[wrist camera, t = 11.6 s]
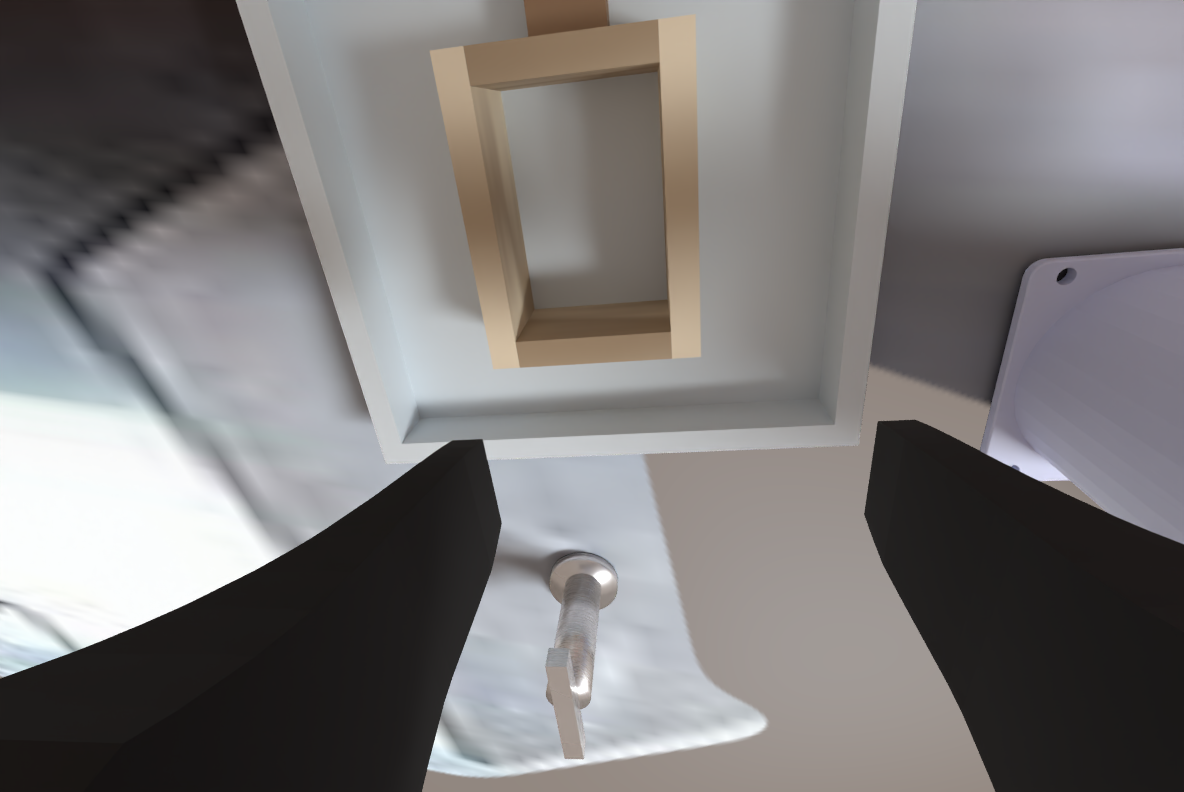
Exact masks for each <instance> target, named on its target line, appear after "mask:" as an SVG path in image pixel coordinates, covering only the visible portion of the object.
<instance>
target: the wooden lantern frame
mask: <svg viewBox="0 0 1184 792" xmlns="http://www.w3.org/2000/svg"><path fill="white" fill-rule="evenodd" d="M524 7H525V15H526V22H527V30H528V37H524V38H517V39H510V40H503V41H495V42H488V43H481V44H473V45H466V46H459V47H452V48H444V49H437V50H430V56H431V61H432V66H433V71H434V76H435V81H436V86H437V91H438V96H439V101H440V106H441V111H442V116H443V121H444V125H445V130H446V135H447V140H448V145H449V150H450V155H451V160H452V165H453V170H454V175H455V180H456V185H457V190H458V195H459V200H460V205H461V210H462V215H463V220H464V225H465V230H466V235H467V240H468V245H469V250H470V255H471V260H472V265H473V270H474V275H475V280H476V285H477V290H478V295H479V300H480V305H481V310H482V315H483V320H484V325H485V330H486V335H487V340H488V345H489V350H490V355H491V360H492V365H493V369H507V368H524V367H541V366H558V365H575V364H592V363H608V362H625V361H642V360H659V359H676V358H692V357H701V328H700V265H699V201H698V137H697V74H696V14H692V15H685V16H678V17H670V18H663V19H656V20H648V21H641V22H634V23H627V24H619V25H612V26H610V21H609V7H608V0H524ZM651 72H658V92H659V115H660V138H661V161H662V185H663V208H664V231H665V255H666V278H667V300H655V301H641V302H627V303H614V304H600V305H586V306H572V307H559V308H545V309H534V303H533V296H532V290H531V283H530V277H529V270H528V264H527V258H526V251H525V245H524V238H523V232H522V225H521V219H520V213H519V206H518V200H517V193H516V187H515V180H514V174H513V167H512V161H511V155H510V148H509V142H508V135H507V129H506V122H505V116H504V110H503V103H502V97H501V91H507V90H515V89H523V88H531V87H539V86H547V85H555V84H563V83H571V82H579V81H587V80H595V79H603V78H611V77H619V76H627V75H635V74H643V73H651Z"/></svg>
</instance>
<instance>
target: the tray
mask: <svg viewBox="0 0 1184 792" xmlns="http://www.w3.org/2000/svg"><path fill="white" fill-rule="evenodd" d="M236 3H237V6H238V9H239V12H240V15H241V18H242V22H243V25H244V28H245V31H246V34H247V37H248V40H249V43H250V46H251V49H252V52H253V55H254V59H255V62H256V65H257V68H258V71H259V74H260V77H261V80H262V83H263V86H264V89H265V92H266V96H267V99H268V102H269V105H270V108H271V111H272V114H273V117H274V120H275V123H276V126H277V129H278V133H279V136H280V139H281V142H282V145H283V148H284V151H285V154H286V157H287V160H288V163H289V166H290V169H291V173H292V176H293V179H294V182H295V185H296V188H297V191H298V194H299V197H300V200H301V203H302V206H303V210H304V213H305V216H306V219H307V222H308V225H309V228H310V231H311V234H312V237H313V240H314V243H315V247H316V250H317V253H318V256H319V259H320V262H321V265H322V268H323V271H324V274H325V277H326V280H327V284H328V287H329V290H330V293H331V296H332V299H333V302H334V305H335V308H336V311H337V314H338V317H339V321H340V324H341V327H342V330H343V333H344V336H345V339H346V342H347V345H348V348H349V351H350V354H351V358H352V361H353V364H354V367H355V370H356V373H357V376H358V379H359V382H360V385H361V388H362V391H363V395H364V398H365V401H366V404H367V407H368V410H369V413H370V416H371V419H372V422H373V425H374V428H375V431H376V435H377V438H378V441H379V444H380V447H381V450H382V453H383V456H384V459H385V462H386V464H399V463H420V462H421V461H423V460H424V459H425V458H427V457H428V456H429V455H431V454H432V453H434V452H435V451H437V450H438V449H439V448H441V447H442V446H444V445H446V444H447V443H449V442H451V441H452V440H471V439H483V443H484V447H485V452H486V456H487V460H501V459H526V458H552V457H577V456H603V455H628V454H652V453H676V452H677V453H679V452H703V451H730V450H752V449H753V450H755V449H781V448H805V447H831V446H854V445H855V446H857V445H859V439H860V432H861V424H862V416H863V409H864V401H865V394H866V386H867V378H868V371H869V363H870V355H871V348H872V340H873V333H874V325H875V317H876V310H877V302H878V295H879V287H880V279H881V272H882V264H883V256H884V249H885V241H886V234H887V226H888V218H889V211H890V203H891V196H892V188H893V180H894V173H895V165H896V157H897V150H898V142H899V135H900V127H901V119H902V112H903V104H904V97H905V89H906V81H907V74H908V66H909V58H910V51H911V43H912V36H913V28H914V20H915V13H916V5H917V0H608V7H609V21H610V26H612V25H619V24H627V23H634V22H641V21H648V20H656V19H663V18H670V17H678V16H685V15H692V14H696V74H697V137H698V201H699V265H700V328H701V357H692V358H676V359H659V360H642V361H625V362H608V363H592V364H575V365H558V366H541V367H524V368H507V369H493V365H492V360H491V355H490V350H489V345H488V340H487V335H486V330H485V325H484V320H483V315H482V310H481V305H480V300H479V295H478V290H477V285H476V280H475V275H474V270H473V265H472V260H471V255H470V250H469V245H468V240H467V235H466V230H465V225H464V220H463V215H462V210H461V205H460V200H459V195H458V190H457V185H456V180H455V175H454V170H453V165H452V160H451V155H450V150H449V145H448V140H447V135H446V130H445V125H444V121H443V116H442V111H441V106H440V101H439V96H438V91H437V86H436V81H435V76H434V71H433V66H432V61H431V56H430V50H437V49H444V48H452V47H459V46H466V45H473V44H481V43H488V42H495V41H503V40H510V39H517V38H524V37H528V30H527V22H526V15H525V7H524V0H236ZM501 97H502V103H503V110H504V116H505V122H506V129H507V135H508V142H509V148H510V155H511V161H512V167H513V174H514V180H515V187H516V193H517V200H518V206H519V213H520V219H521V225H522V232H523V238H524V245H525V251H526V258H527V264H528V270H529V277H530V283H531V290H532V296H533V303H534V309H545V308H559V307H572V306H586V305H600V304H614V303H627V302H641V301H655V300H667V278H666V255H665V231H664V208H663V185H662V161H661V138H660V115H659V92H658V72H651V73H643V74H635V75H627V76H619V77H611V78H603V79H595V80H587V81H579V82H571V83H563V84H555V85H547V86H539V87H531V88H523V89H515V90H507V91H501Z"/></svg>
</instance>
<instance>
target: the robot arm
mask: <svg viewBox="0 0 1184 792" xmlns="http://www.w3.org/2000/svg"><path fill="white" fill-rule="evenodd" d="M1066 268H1067V269H1068V273H1067V274H1066V276H1065V277H1064V278H1063V279H1062V280H1060V281H1057V276H1058V274H1059V273H1060V272H1061V271H1062V270H1063V269H1066ZM1011 465H1013V466H1012V467H1010V466H1011ZM1057 480H1070V481H1071V482H1072V483H1074V484H1075V485H1076V486H1077V487H1078V488H1079V489H1081V490H1082V491H1083V492H1084V493H1085V494H1086V495H1088V496H1089V497H1090V498H1091V499H1092V500H1093V501H1094V502H1096V503H1097V504H1098V505H1099V506H1100V507H1101V508H1103V509H1104V510H1105V511H1106V512H1105V511H1102V510H1100V509H1098V508H1096V507H1093V506H1091V505H1089V504H1087V503H1085V502H1082V501H1080V500H1078V499H1076V498H1074V497H1071V496H1069V495H1067V494H1065V493H1063V492H1061V491H1059V490H1057V489H1055V488H1053V487H1051V486H1048V485H1046V484H1044V483H1042V482H1040V481H1057ZM864 515H865V518H866V520H867V523H868V526H869V529H870V532H871V535H872V537H873V540H874V543H875V545H876V548H877V550H878V553H879V555H880V558H881V561H882V563H883V565H884V567H885V569H886V571H887V573H888V575H889V577H890V579H891V581H892V583H893V584H894V586H895V588H896V590H897V592H898V594H899V596H900V597H901V599H902V601H903V603H904V605H905V607H906V609H907V610H908V612H909V614H910V616H911V618H912V620H913V621H914V623H915V625H916V627H917V628H918V630H919V632H920V634H921V636H922V638H923V640H924V641H925V643H926V645H927V647H928V649H929V650H930V652H931V654H932V656H933V658H934V660H935V662H936V663H937V665H938V667H939V669H940V670H941V672H942V674H943V676H944V678H945V680H946V682H947V683H948V685H949V687H950V689H951V691H952V694H953V695H954V698H955V700H956V702H957V704H958V705H959V708H960V710H961V712H962V714H963V716H964V718H965V721H966V723H967V725H968V728H969V730H970V732H971V735H972V737H973V740H974V742H975V744H976V746H977V749H978V751H979V754H980V756H981V758H982V761H983V763H984V765H985V768H986V770H987V772H988V775H989V777H990V779H991V782H992V784H993V787H994V789H995V792H1184V248H1175V249H1162V250H1149V251H1136V252H1123V253H1110V254H1097V255H1084V256H1071V257H1058V258H1045V259H1041V260H1038V261H1036V262H1034V263H1033V264H1031V265H1030V266H1029V267H1028V268H1027V269H1026V271H1025V273H1024V275H1023V278H1022V282H1021V286H1020V290H1019V294H1018V298H1017V302H1016V306H1015V311H1014V315H1013V319H1012V323H1011V327H1010V331H1009V335H1008V339H1007V343H1006V347H1005V351H1004V355H1003V359H1002V363H1001V367H1000V371H999V375H998V379H997V383H996V387H995V391H994V395H993V399H992V403H991V407H990V412H989V415H988V419H987V424H986V428H985V432H984V436H983V440H982V444H981V448H980V451H979V450H977V449H975V448H973V447H971V446H969V445H967V444H965V443H963V442H961V441H960V440H957V439H956V438H954V437H952V436H950V435H947V434H945V433H944V432H942V431H940V430H937V429H935V428H933V427H931V426H929V425H927V424H924V423H922V422H919V421H917V420H899V421H878V424H877V431H876V438H875V445H874V452H873V458H872V465H871V472H870V479H869V486H868V493H867V500H866V506H865V513H864ZM501 524H502V523H501V518H500V514H499V509H498V505H497V500H496V496H495V491H494V487H493V483H492V478H491V474H490V469H489V465H488V460H487V456H486V452H485V447H484V443H483V439H471V440H452V441H451V442H449V443H447V444H446V445H444V446H442V447H441V448H439V449H438V450H437V451H435V452H434V453H432V454H431V455H429V456H428V457H427V458H425V459H424V460H423V461H421V462H420V463H419V464H417V465H416V466H414V467H413V468H412V469H410V470H409V471H408V472H406V473H405V474H404V475H402V476H401V477H400V478H398V479H397V480H395V481H394V482H393V483H391V484H390V485H389V486H387V487H386V488H385V489H383V490H382V491H381V492H379V493H378V494H376V495H375V496H374V497H372V498H371V499H369V500H368V501H366V502H365V503H363V504H362V505H360V506H359V507H358V508H356V509H355V510H353V511H352V512H350V513H349V514H347V515H346V516H344V517H343V518H341V519H340V520H338V521H337V522H335V523H334V524H332V525H331V526H329V527H328V528H327V529H325V530H323V531H322V532H320V533H319V534H317V535H316V536H314V537H312V538H311V539H309V540H307V541H306V542H304V543H302V544H301V545H299V546H297V547H296V548H294V549H292V550H291V551H289V552H287V553H285V554H283V555H282V556H280V557H278V558H276V559H275V560H273V561H271V562H269V563H268V564H266V565H264V566H262V567H260V568H259V569H257V570H255V571H253V572H251V573H249V574H247V575H245V576H243V577H241V578H239V579H237V580H235V581H233V582H231V583H229V584H227V585H225V586H223V587H221V588H219V589H217V590H215V591H213V592H211V593H209V594H207V595H205V596H203V597H201V598H199V599H197V600H195V601H193V602H191V603H189V604H186V605H184V606H182V607H180V608H178V609H176V610H173V611H171V612H169V613H166V614H164V615H162V616H160V617H157V618H155V619H153V620H151V621H148V622H146V623H144V624H142V625H139V626H137V627H134V628H132V629H129V630H127V631H125V632H122V633H120V634H117V635H115V636H113V637H110V638H108V639H105V640H103V641H100V642H98V643H95V644H93V645H90V646H88V647H85V648H83V649H80V650H78V651H75V652H72V653H70V654H67V655H64V656H62V657H59V658H56V659H53V660H51V661H48V662H45V663H42V664H39V665H37V666H34V667H31V668H28V669H26V670H23V671H20V672H17V673H15V674H12V675H9V676H6V677H4V678H1V679H0V792H422V789H423V784H424V780H425V776H426V772H427V767H428V763H429V759H430V755H431V751H432V748H433V744H434V740H435V736H436V732H437V728H438V724H439V721H440V717H441V713H442V709H443V705H444V702H445V699H446V696H447V692H448V689H449V686H450V683H451V680H452V677H453V674H454V672H455V669H456V666H457V663H458V661H459V658H460V655H461V653H462V650H463V647H464V644H465V642H466V639H467V636H468V634H469V631H470V628H471V625H472V623H473V620H474V617H475V615H476V612H477V609H478V606H479V604H480V601H481V598H482V595H483V593H484V590H485V587H486V584H487V581H488V579H489V576H490V573H491V570H492V566H493V562H494V557H495V553H496V549H497V544H498V539H499V534H500V529H501Z"/></svg>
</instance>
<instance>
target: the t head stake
mask: <svg viewBox="0 0 1184 792" xmlns="http://www.w3.org/2000/svg"><path fill="white" fill-rule="evenodd" d="M549 587H550V591H551V593H552V595H553V596H554V598H555V599H556V600H557V601H558V602H559V603H561V604H562V605H561V610H560V616H559V622H558V627H557V633H556V639H555V644H554V648H549V650H548V655H547V660H546V666H545V667H546V672H547V677H548V684H547V690H546V697H547V699H548V701H549V702H550V703H551V704H552V705H554V710H555V715H556V719H557V724H558V729H559V734H560V738H561V743H562V748H563V752H564V757H565V759H584V752H585V742H586V739H585V733H584V728H583V722H582V716H581V711H580V709H583V708H585V707H586V706H587V705H588V704H589V703H590V700H591V690H592V680H593V669H594V659H595V649H596V639H597V628H598V618H599V610H600V609H603V608H605V607H606V606H608V605H609V604H610V603H611V602H612V601H613V600H614V599H615V597H616V594H617V588H618V577H617V573H616V571H615V569H614V568H613V566H612V565H611V564H610V563H609V562H607V561H606V560H605V559H603V558H601V557H599V556H596V555H593V554H589V553H574V554H570V555H567V556H564V557H563V558H561V559H560V560H558V561H557V562H556V563H555V565H554V566H553V568H552V571H551V576H550V581H549Z"/></svg>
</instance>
